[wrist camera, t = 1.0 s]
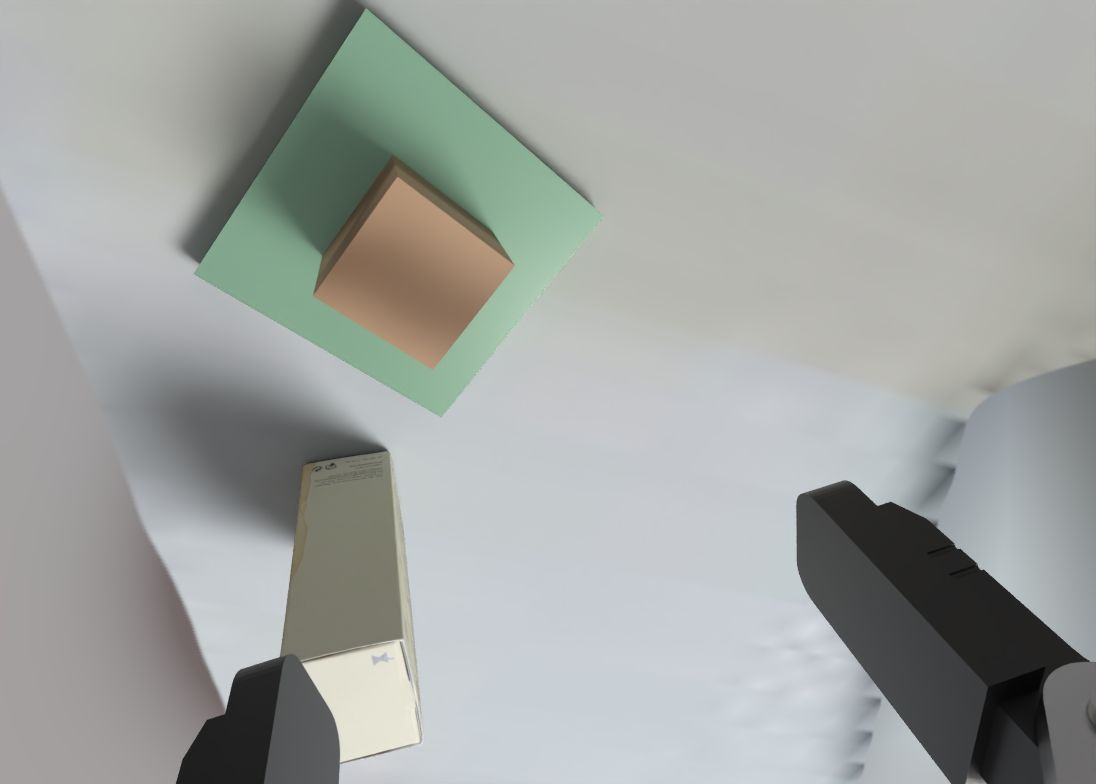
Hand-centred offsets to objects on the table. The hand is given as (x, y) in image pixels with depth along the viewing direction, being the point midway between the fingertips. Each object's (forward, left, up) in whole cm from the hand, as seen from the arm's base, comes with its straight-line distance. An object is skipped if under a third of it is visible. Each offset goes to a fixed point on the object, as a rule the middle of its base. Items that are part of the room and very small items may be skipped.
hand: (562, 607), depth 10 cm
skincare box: (+14, +5, -22) cm, 26 cm away
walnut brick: (+1, -1, -20) cm, 20 cm away
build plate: (+1, -1, -22) cm, 22 cm away
